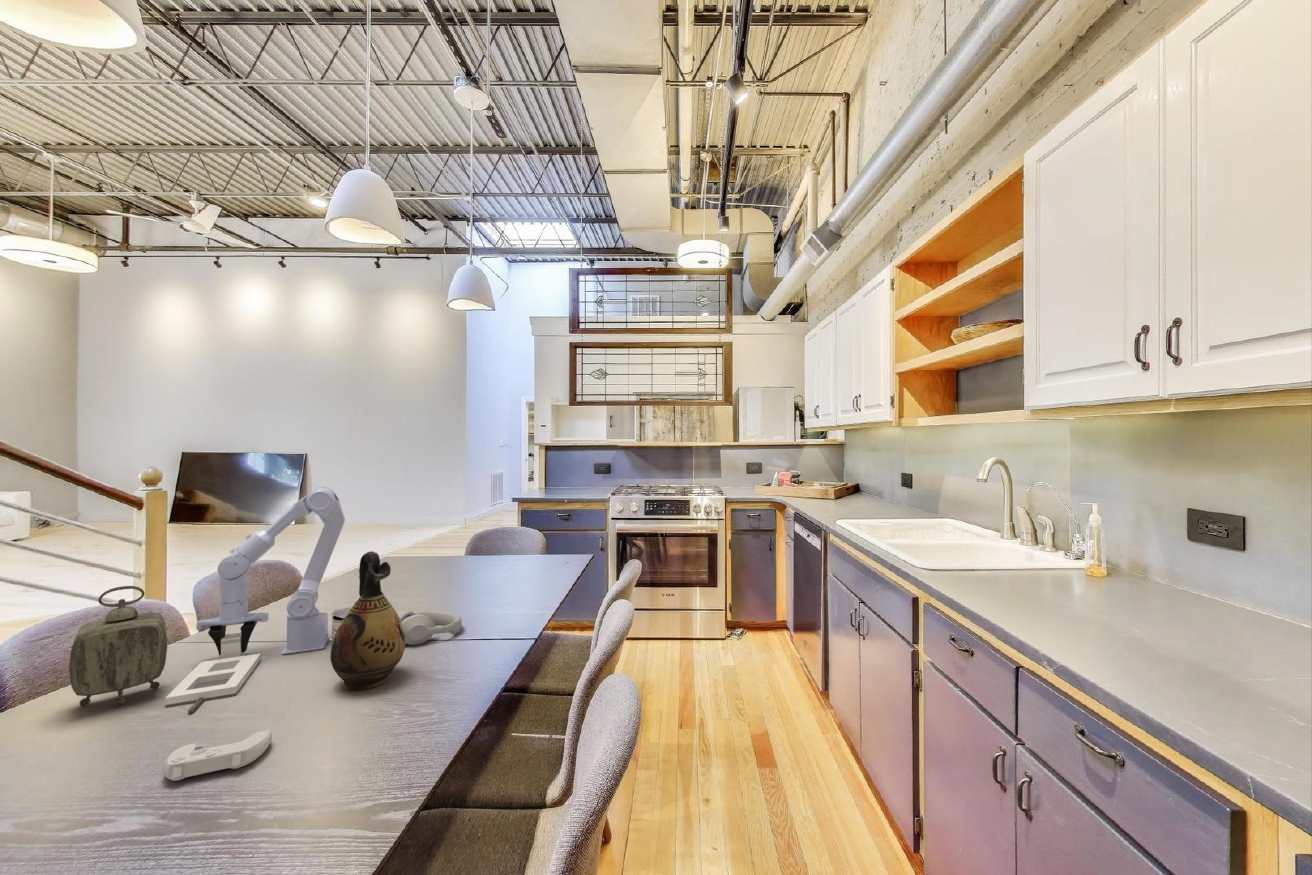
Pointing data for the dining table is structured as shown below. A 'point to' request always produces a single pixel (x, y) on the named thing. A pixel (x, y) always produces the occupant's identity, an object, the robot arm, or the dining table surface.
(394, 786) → the dining table surface
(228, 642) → the block
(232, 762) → the game controller
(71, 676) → the tabletop clock
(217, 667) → the power strip
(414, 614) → the headphones
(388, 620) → the ceramic jug
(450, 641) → the dining table surface
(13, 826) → the dining table surface
